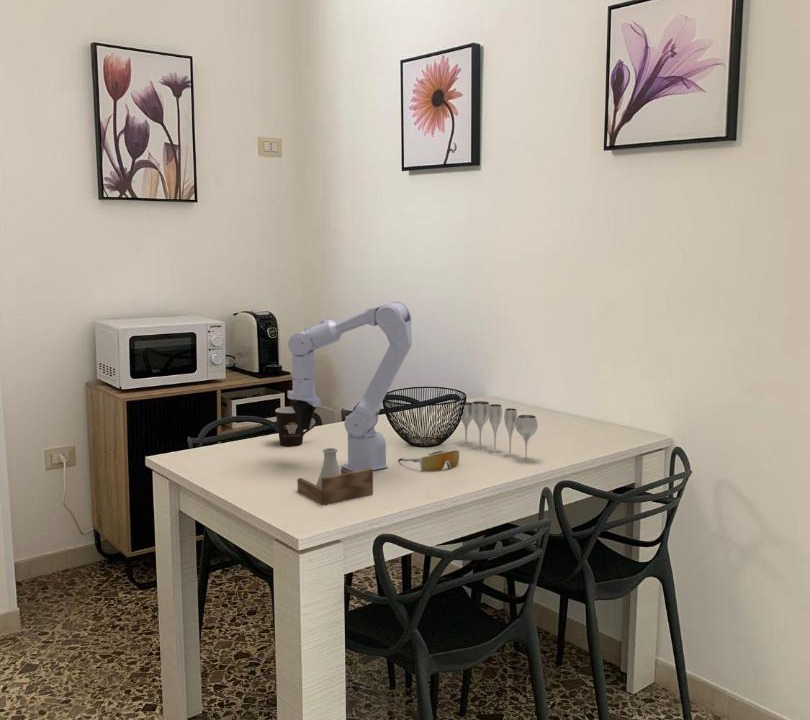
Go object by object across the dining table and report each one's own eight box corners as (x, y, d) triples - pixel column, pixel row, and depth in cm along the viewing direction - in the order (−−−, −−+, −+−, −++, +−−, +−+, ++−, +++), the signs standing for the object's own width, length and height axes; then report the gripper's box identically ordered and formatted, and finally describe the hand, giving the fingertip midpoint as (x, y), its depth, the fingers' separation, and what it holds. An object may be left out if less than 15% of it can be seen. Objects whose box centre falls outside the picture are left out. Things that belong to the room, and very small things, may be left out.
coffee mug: (271, 446, 236) (270, 412, 234) (283, 439, 244) (282, 406, 242) (310, 449, 233) (309, 414, 231) (320, 441, 241) (319, 408, 240)
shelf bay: (344, 481, 203) (344, 457, 202) (372, 494, 193) (372, 469, 192) (297, 490, 195) (297, 466, 194) (324, 504, 185) (323, 479, 184)
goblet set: (453, 444, 238) (453, 399, 236) (467, 441, 242) (467, 396, 240) (526, 464, 217) (527, 415, 215) (541, 461, 221) (542, 412, 219)
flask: (330, 484, 201) (329, 443, 199) (352, 489, 196) (351, 448, 195) (308, 491, 195) (308, 450, 194) (331, 497, 191) (330, 455, 189)
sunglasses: (426, 475, 208) (424, 455, 208) (392, 470, 220) (390, 451, 220) (469, 466, 216) (468, 447, 216) (434, 461, 228) (433, 443, 228)
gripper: (276, 375, 218) (278, 426, 220) (303, 383, 206) (304, 436, 208) (300, 373, 222) (301, 422, 224) (328, 380, 210) (328, 433, 212)
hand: (304, 429), depth 216 cm, fingers closed
